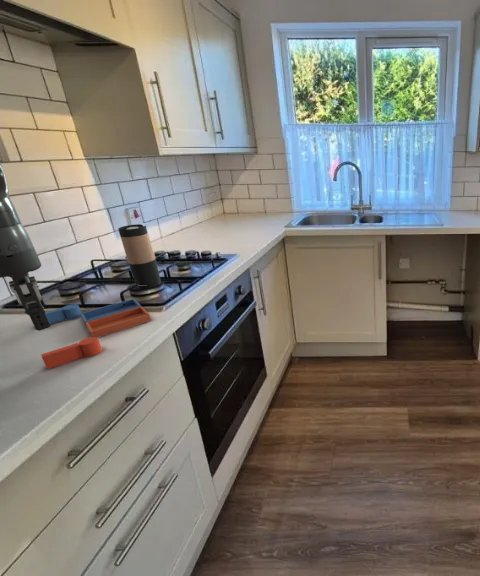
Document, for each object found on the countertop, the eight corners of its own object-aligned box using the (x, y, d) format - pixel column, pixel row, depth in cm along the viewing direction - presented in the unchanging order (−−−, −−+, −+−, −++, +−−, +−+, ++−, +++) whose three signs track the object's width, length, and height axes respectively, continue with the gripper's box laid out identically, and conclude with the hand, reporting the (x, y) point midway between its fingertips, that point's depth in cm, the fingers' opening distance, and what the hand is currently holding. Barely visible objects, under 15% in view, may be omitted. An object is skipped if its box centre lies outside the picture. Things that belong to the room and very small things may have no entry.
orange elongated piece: (48, 371, 78) (42, 358, 77) (46, 364, 80) (40, 352, 79) (103, 352, 84) (99, 340, 83) (100, 346, 87) (96, 335, 85)
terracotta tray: (93, 338, 90) (90, 332, 89) (87, 328, 95) (85, 322, 94) (151, 320, 99) (149, 314, 98) (143, 312, 104) (141, 306, 103)
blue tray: (87, 328, 95) (84, 321, 95) (82, 319, 100) (79, 313, 99) (143, 311, 104) (141, 305, 103) (135, 304, 109) (134, 298, 108)
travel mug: (132, 290, 119) (113, 230, 111) (141, 281, 126) (124, 225, 118) (157, 287, 120) (140, 228, 113) (165, 279, 127) (149, 223, 119)
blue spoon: (36, 329, 95) (31, 319, 94) (35, 325, 98) (30, 314, 96) (83, 316, 102) (79, 306, 101) (81, 312, 104) (77, 302, 103)
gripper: (-21, 246, 72) (15, 318, 78) (-21, 261, 63) (20, 341, 69) (29, 238, 77) (59, 306, 83) (36, 250, 68) (69, 326, 74)
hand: (41, 322), depth 76 cm, fingers open, 8 cm apart
